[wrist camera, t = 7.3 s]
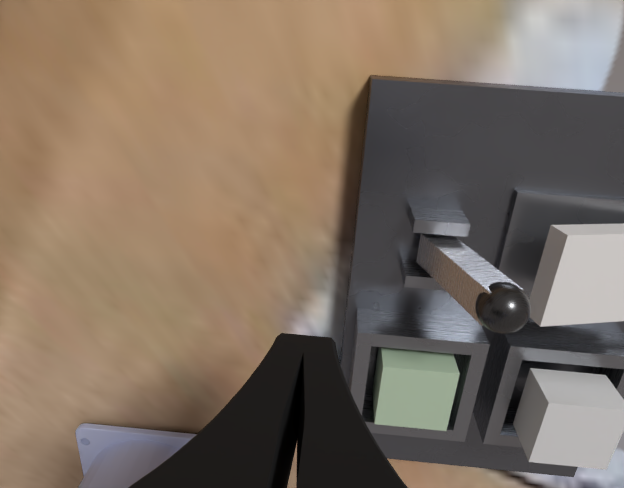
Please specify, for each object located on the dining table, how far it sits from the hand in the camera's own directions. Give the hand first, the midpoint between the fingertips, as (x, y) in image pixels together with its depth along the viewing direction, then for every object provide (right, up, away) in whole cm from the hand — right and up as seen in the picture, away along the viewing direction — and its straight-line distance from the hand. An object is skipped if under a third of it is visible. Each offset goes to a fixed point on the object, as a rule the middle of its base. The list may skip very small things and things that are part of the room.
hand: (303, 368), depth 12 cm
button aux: (+10, -3, +8) cm, 14 cm away
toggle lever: (+5, +3, +7) cm, 9 cm away
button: (+5, -2, +10) cm, 11 cm away
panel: (+8, +1, +10) cm, 13 cm away
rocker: (+11, +2, +6) cm, 12 cm away
